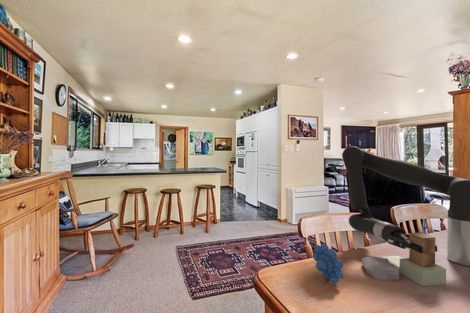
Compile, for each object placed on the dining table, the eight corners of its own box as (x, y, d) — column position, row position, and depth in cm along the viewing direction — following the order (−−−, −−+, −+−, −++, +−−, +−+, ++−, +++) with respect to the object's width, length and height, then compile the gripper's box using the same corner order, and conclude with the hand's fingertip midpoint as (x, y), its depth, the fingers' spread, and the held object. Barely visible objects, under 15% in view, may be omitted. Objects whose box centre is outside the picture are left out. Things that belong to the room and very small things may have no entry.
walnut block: (421, 259, 85) (421, 232, 85) (435, 266, 80) (435, 237, 80) (409, 260, 84) (409, 233, 84) (422, 267, 79) (422, 238, 79)
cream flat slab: (397, 257, 98) (397, 255, 98) (418, 268, 89) (418, 265, 89) (376, 259, 96) (376, 257, 96) (394, 270, 87) (394, 267, 87)
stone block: (371, 284, 82) (403, 281, 80) (368, 270, 82) (399, 266, 80) (360, 268, 93) (387, 266, 92) (357, 256, 94) (384, 253, 92)
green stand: (420, 270, 87) (420, 257, 87) (445, 283, 78) (446, 268, 78) (399, 272, 86) (399, 258, 86) (422, 286, 77) (423, 271, 77)
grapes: (305, 275, 84) (305, 242, 83) (317, 270, 87) (317, 238, 87) (335, 292, 74) (335, 254, 74) (347, 285, 78) (347, 249, 77)
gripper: (373, 224, 95) (411, 239, 78) (404, 222, 97) (447, 237, 80) (373, 243, 95) (411, 262, 78) (404, 240, 97) (447, 259, 81)
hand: (429, 249), depth 79 cm, fingers closed on walnut block, 5 cm apart
